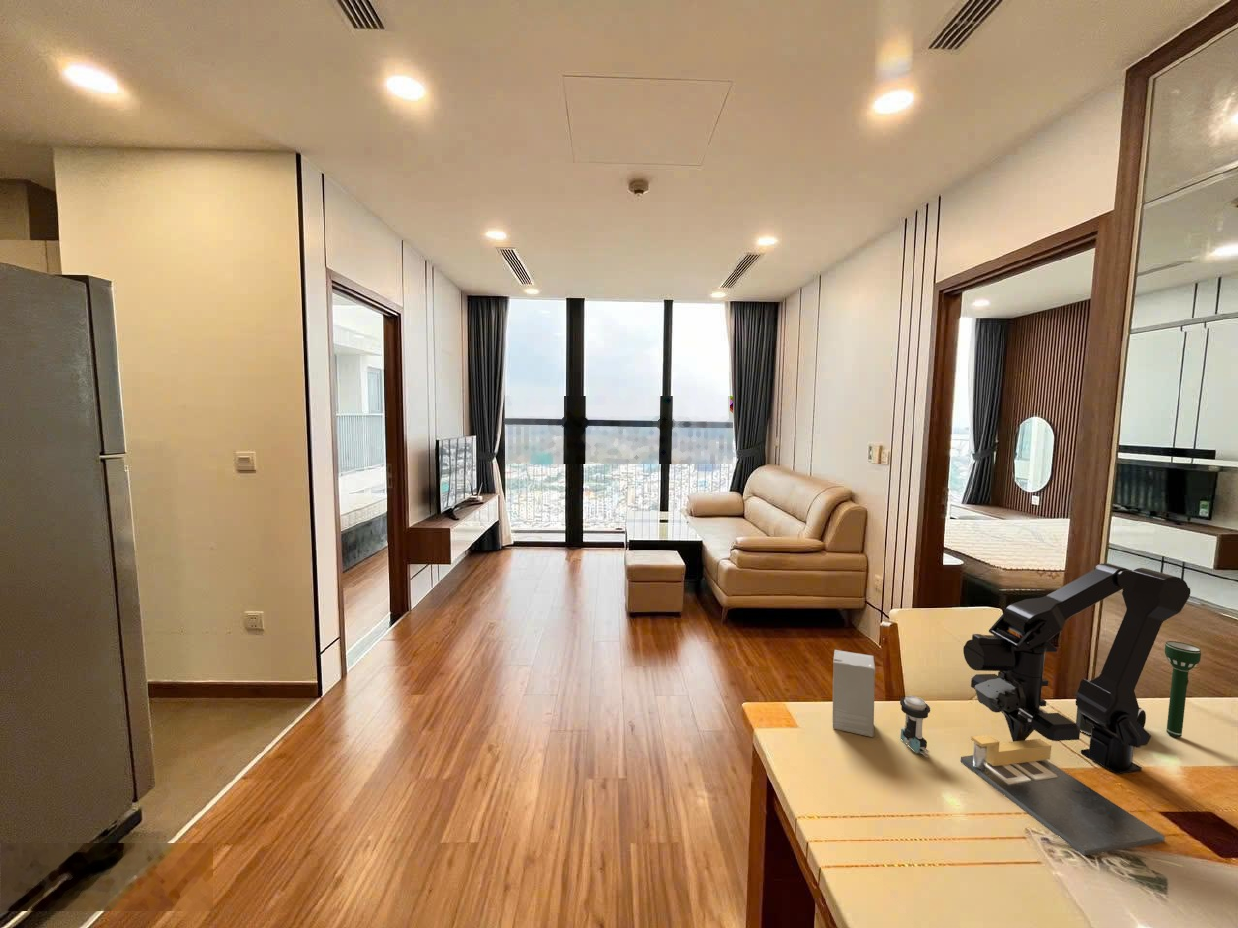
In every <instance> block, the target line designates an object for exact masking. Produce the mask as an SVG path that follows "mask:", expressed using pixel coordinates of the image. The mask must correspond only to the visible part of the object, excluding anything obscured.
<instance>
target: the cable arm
mask: <svg viewBox="0 0 1238 928" xmlns="http://www.w3.org/2000/svg"><path fill="white" fill-rule="evenodd" d="M970 739H971V740H972V741H973V743H974V742H975V743H977V744H978V745H979V746H981V747H985V746H987V754H986V761H987V762H988V763H989V764H991V765H992V766H1000V765H1008V764H1016V763H1024V762H1032V761H1040V760H1047V761H1049V760H1051V754H1052V752H1051V750H1052V745H1051V744H1049V743H1048V742H1046V741H1045V740H1043V739H1041V738H1033V739H1026V740H1023V741H1014V742H1013V741H1007V742H1001V741H999V740H997V738H995V737H993V736H992V735H990V734H984V735H983V734H982V735H975V736H971V738H970Z"/></svg>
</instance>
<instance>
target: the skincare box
mask: <svg viewBox="0 0 1238 928" xmlns="http://www.w3.org/2000/svg"><path fill="white" fill-rule="evenodd" d="M874 657H875V656H874V655H871V654H864V653H858V652H851V651H844V650H839V649H834V652H833V658H832V659H833V668H832V669H833V670H832V671H833V674H832V729H834V730H837V731H842V732H847V733H853V734H856V735H861V736H866V737H870V738H874V733H875V731H874V729H875V724H874V723H875V687H876V686H875V684H876V682H875V681H876V680H875V679H876V663H875V658H874Z"/></svg>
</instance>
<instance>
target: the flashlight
mask: <svg viewBox="0 0 1238 928" xmlns="http://www.w3.org/2000/svg"><path fill="white" fill-rule="evenodd" d="M1164 654H1165V657H1166V659H1167V661H1168V663H1169V664H1171V665H1170V666H1172V673H1171V683H1170V695H1169V703H1168V713H1167V722H1166V733H1167V735H1169V736H1171V737H1173V738H1177V737H1179V738H1182V736H1183V735H1182V734H1183V727H1184V726H1183V725H1184V719H1185V718H1184V717H1185V707H1186V697H1187V691H1188V689H1187V688H1188V685H1189V682H1190V681H1189V671H1191V670H1192V669H1194V668H1196V667H1197V666H1198V664H1200V662H1201V659H1202V650H1201V648H1199V647H1198V646H1195V645H1193V644H1189V643H1185V642H1181V641H1176V640H1175V641H1173V640H1168V641H1166V642H1165V645H1164Z"/></svg>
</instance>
